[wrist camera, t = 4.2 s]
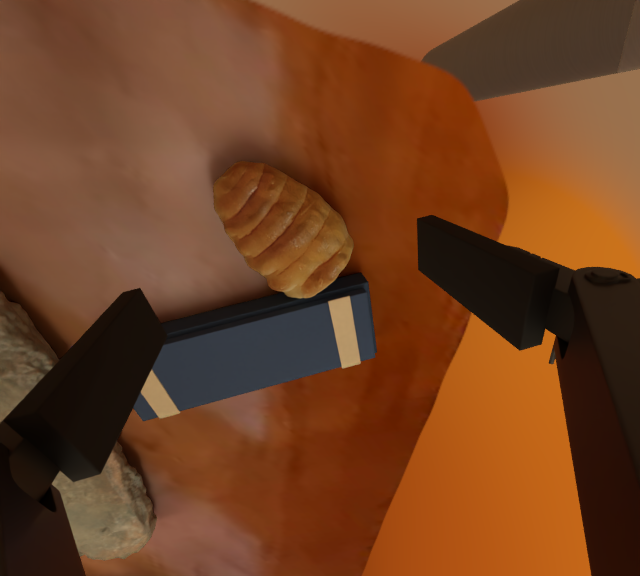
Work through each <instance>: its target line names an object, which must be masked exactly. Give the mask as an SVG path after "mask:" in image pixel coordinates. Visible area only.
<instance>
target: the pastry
mask: <svg viewBox="0 0 640 576" xmlns="http://www.w3.org/2000/svg"><path fill="white" fill-rule="evenodd" d="M213 192H214V208H215V211H216V212H217V214H218V215H219V217H220V219H221V220H222V222H223V224H224V228H225V232H226V233H227V234H228V235H229V237H230V239H231V240H232V241H233V242H234V243H235V246H236V248H237V249H238V251H239V252H240V253H241V254H242V255H243V256H244V258H245V261H246V263H247V265H248V266H249V267H250V268H252V269H253V270H255V271H257V272H259V273H260V275H262V276H264V277H265V278H266V279H267V283H268V285H269V287H270V288H271V289H273V290H276V291H282V292H284V293H285V295H286V296H288V297H291V298H310V297H313V296H315V295H316V294H317V293H319V292H321V291H322V290H323V289H325V288H326V287H327V286H328V285H330V284H331V283H332V282H334V281H335V280H336V278H337V277H338V275H339V273H340V272H341V271H342V270H343V269H344V268H345V267H346V265H347V263H348V261H349V259H350V256H351V253H352V250H353V247H354V243H353V240H352V238H351V237H350V235H349V234H348V232H347V228H346V225H345V222H344V220H343V218H342V217H341V215H340V214H339V213H338V212H336V211H335V210H334V209H332V208H331V207H330V205H329V204H328V203H326V202H325V201H324V199H323V198H322V197H321V196H320V195H319V194H318V193H317V192H315V191H312V190H311V189H309V188H308V187H307V186H305V185H303V184H300V183H298V182H297V181H295V180H294V179H292V178H290V177H289V176H287V175H286V174H285V173H283V172H281V171H279V170H277V169H275V168H273V167H271V166H268V165H267V164H265V163H254V162H246V161H239V162H236V163H235V164H233V165H232V166H231V167H230V168H228V169H227V171H226V172H225V173H224V174H223V175H222V176H221V177H220V178H219V179H218V180H217V181H216V182H215V183H214V187H213Z"/></svg>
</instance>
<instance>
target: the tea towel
mask: <svg viewBox="0 0 640 576" xmlns="http://www.w3.org/2000/svg"><path fill="white" fill-rule="evenodd" d="M161 325H162V327H163V329H164V330H165V332H166V334H167V336H168V337H167V339H166V341H165V343H164V345H163V347H162V349H161V351H160V353H159V355H158V357H157V359H156V361H155V364H154V366H153V368H152V370H151V372H150V374H149V376H148V378H147V380H146V382H145V384H144V386H143V388H142V390H141V392H140V394H139V396H138V399H137V401H136V403H135V405H134V407H133V408H134V410H135V411H136V412H137V414H138V415H139V416H140V418H141V419H142V420H143V421H146V420H150V419H153V418H157V417H159V418H160V419H161V418H165V417H169V416H172V415H176V414H179V413H180V411H182V410H186V409H190V408H193V407H197V406H201V405H204V404H208V403H211V402H215V401H219V400H222V399H226V398H230V397H233V396H237V395H240V394H244V393H248V392H251V391H255V390H259V389H262V388H266V387H269V386H273V385H277V384H280V383H284V382H288V381H291V380H295V379H298V378H302V377H306V376H309V375H313V374H317V373H320V372H324V371H327V370H331V369H335V368H338V367H342V368H346V367H350V366H353V365H357V364H360V363H361V362H360V361H364V360H367V359H371V358H375V353H376V352H377V349H376V341H375V333H374V325H373V317H372V309H371V301H370V293H369V285H368V281H367V280H366V279H365V277H364V276H363V275H362V273H357V274H353V275H349V276H345V277H341V278H337V279H336V280H335V281H334V282H332V283H331V284H330V285H328V286H327V287H326V288H325V289H323V290H322V291H321V292H319V293H317V294H316V295H315V296H313V297H310V298H291V297H288V296H286V295H285V293H284V292H282V293H278V294H274V295H271V296H267V297H263V298H259V299H255V300H251V301H247V302H243V303H239V304H235V305H231V306H228V307H224V308H220V309H216V310H212V311H208V312H204V313H200V314H196V315H192V316H188V317H184V318H181V319H177V320H173V321H169V322H165V323H161Z"/></svg>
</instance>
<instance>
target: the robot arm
mask: <svg viewBox="0 0 640 576" xmlns="http://www.w3.org/2000/svg"><path fill="white" fill-rule="evenodd" d="M417 233H418V270H419V271H421V272H422V273H423V274H424V275H426V276H427V277H428V278H429V279H431V280H432V281H433V282H434V283H436V284H437V285H438V286H439V287H441V288H442V289H443V290H444V291H446V292H447V293H448V294H449V295H451V296H452V297H453V298H454V299H456V300H457V301H458V302H459V303H461V304H462V305H463V306H464V307H466V308H467V309H468V310H469V311H471V312H472V313H473V314H474V315H476V316H477V317H478V318H479V319H481V320H482V321H483V322H485V323H486V324H487V325H488V326H489V327H491V328H492V329H493V330H495V331H496V332H497V333H498V334H500V335H501V336H502V337H503V338H505V339H506V340H507V341H508V342H510V343H511V344H512V345H513V346H515V347H516V348H517V349H519V350H524V349H527V348H530V347H534V346H537V345H541V344H542V340H543V336H544V332H545V329H547V330H548V331H550V332H552V333H553V334H555V335H556V338H555V341H554V345H553V349H552V353H551V356H550V360H549V364H553V363H554V360H555V359H556V363H557V369H558V375H559V381H560V387H561V393H562V399H563V405H564V411H565V417H566V424H567V430H568V436H569V442H570V448H571V454H572V460H573V466H574V472H575V478H576V484H577V490H578V497H579V503H580V509H581V515H582V521H583V527H584V533H585V539H586V545H587V551H588V557H589V563H590V569H591V575H592V576H640V278H639V279H636V278H635V277H634V276H632V275H631V274H628V273H626V272H623V271H620V270H616V269H611V268H603V267H586V268H581V269H577V270H576V271H575V270H572V269H570V268H567V267H565V266H562V265H560V264H557V263H555V262H552V261H550V260H547V259H545V258H541V257H540V256H537V255H535V254H530V252H527V251H525V250H523V249H520V248H517V247H512V246H506V245H504V244H501V243H499V242H496V241H494V240H492V239H489V238H487V237H484V236H482V235H480V234H477V233H475V232H472V231H470V230H467V229H465V228H463V227H460V226H458V225H455V224H453V223H451V222H448V221H446V220H443V219H441V218H438V217H436V216H434V215H429V216H426V217H422V218H418V219H417ZM167 337H168V336H167V334H166V332H165V330H164V329H163V327H162V325H161V323H160V322H159V320H158V318H157V316H156V315H155V313H154V311H153V309H152V308H151V306H150V304H149V303H148V301H147V299H146V297H145V296H144V294H143V292H142V290H141V289H140V288H138V289H134V290H130V291H126V292H123V293H122V294H121V295H120V296H119V297H118V298H117V299H116V300H115V301H114V302H113V303H112V304H111V305H110V307H109V308H108V309H107V310H106V311H105V312H104V313H103V314H102V315H101V316H100V317H99V318H98V319H97V320H96V322H95V323H94V324H93V325H92V326H91V327H90V328H89V329H88V330H87V331H86V332H85V333H84V334H83V336H82V337H81V338H80V339H79V340H78V341H77V342H76V343H75V344H74V345H73V346H72V347H71V348H70V349H69V351H68V352H67V353H66V354H65V355H64V356H63V357H62V358H61V359H60V360H59V361H58V362H57V363H56V364H55V366H54V367H53V368H52V369H51V370H50V371H49V372H48V373H47V374H46V375H45V376H44V377H43V378H42V379H41V380H40V381H39V382H38V383H37V384H36V385H35V386H34V388H33V389H32V390H31V391H30V392H29V393H28V394H27V395H26V396H25V397H24V399H23V400H21V401H20V402H19V403H18V405H17V406H16V407H15V408H14V409H13V410H12V411H11V412H10V413H9V414H8V415H7V416H6V417H5V418H4V419H3V421H2V422H1V423H0V576H86V575H85V572H84V569H83V566H82V562H81V559H80V556H79V553H78V549H77V546H76V543H75V539H74V536H73V533H72V530H71V526H70V523H69V520H68V517H67V513H66V510H65V507H64V503H63V500H62V497H61V494H60V491H59V490H58V489H57V488H56V487H54V486H53V485H52V483H53V481H54V479H55V478H56V476H57V474H58V473H59V471H61V472H62V473H63V474H64V475H66V476H67V477H68V478H69V479H70V480H71V481H72V482H76V481H79V480H83V479H86V478H89V477H93V476H96V475H100V474H101V473H102V471H103V469H104V466H105V464H106V462H107V460H108V458H109V456H110V454H111V452H112V450H113V448H114V446H115V444H116V442H117V440H118V438H119V436H120V434H121V431H122V429H123V427H124V425H125V423H126V421H127V419H128V417H129V415H130V413H131V411H132V409H133V407H134V405H135V403H136V401H137V399H138V396H139V394H140V392H141V390H142V388H143V386H144V384H145V382H146V380H147V378H148V376H149V374H150V372H151V370H152V368H153V366H154V364H155V361H156V359H157V357H158V355H159V353H160V351H161V349H162V347H163V345H164V343H165V341H166V339H167Z"/></svg>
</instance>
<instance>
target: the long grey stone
mask: <svg viewBox="0 0 640 576" xmlns="http://www.w3.org/2000/svg"><path fill="white" fill-rule="evenodd" d="M58 361H59V359H58V357H57V355H56V354H55V352H54V351H53V350H52V349H51V347H50V345H49V344H48V343H47V342H46V341H45V340H44V338H43V337H42V335H41V334H40V333H39V332H38V331H37V329H36V328H35V326H34V325H33V322H32V321H31V319H30V317H29V316H28V314H27V312H26V311H25V310H24V309H22V308H21V305H20V304H19V303H14V302H9V301H8V300H7V299H6V298H5V294H4V293H2V292H1V291H0V423H1V422H2V421H3V419H4V418H5V417H6V416H7V415H8V414H9V413H10V412H11V411H12V410H13V409H14V408H15V407H16V406H17V405H18V403H19V402H20V401H21V400H23V399H24V397H25V396H26V395H27V394H28V393H29V392H30V391H31V390H32V389H33V388H34V386H35V385H36V384H37V383H38V382H39V381H40V380H41V379H42V378H43V377H44V376H45V375H46V374H47V373H48V372H49V371H50V370H51V369H52V368H53V367H54V366H55V364H56V363H57V362H58ZM52 485H53V486H54V487H56V488H57V489H58V490H59V491H60V494H61V497H62V500H63V503H64V507H65V510H66V513H67V517H68V520H69V523H70V526H71V530H72V533H73V536H74V539H75V543H76V546H77V549H78V553H79V556H82V555H86V556H87V557H88V558H91V559H101V560H109V559H114V558H121V559H125V558H126V557H128V556H129V555H131V554H132V553H137V552H138V551H139V550H140V549H141V548H143V547H144V546H145V545H146V543H147V541H149V539H150V538H151V536H152V533H153V531H154V529H155V526H156V521H157V516H156V515H155V514H154V513H153V510H152V506H153V504H152V501H151V499H150V498H149V497H147V496H146V488H145V486H144V485H143V480H142V477H141V475H140V474H139V473H137V471H136V469H135V468H134V467H132V466H130V465H129V463H128V462H127V459H126V457H125V455H124V453H122V446H121V445H120V444H119V443H118V442H116V444H115V446H114V448H113V450H112V452H111V454H110V456H109V458H108V460H107V462H106V464H105V466H104V469H103V471H102V473H101V474H100V475H96V476H93V477H89V478H86V479H83V480H79V481H76V482H72V481H71V480H70V479H69V478H68V477H67V476H66V475H64V474H63V473H62V472H61V471H59V473H58V474H57V476H56V478H55V479H54V481H53V483H52Z"/></svg>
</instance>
